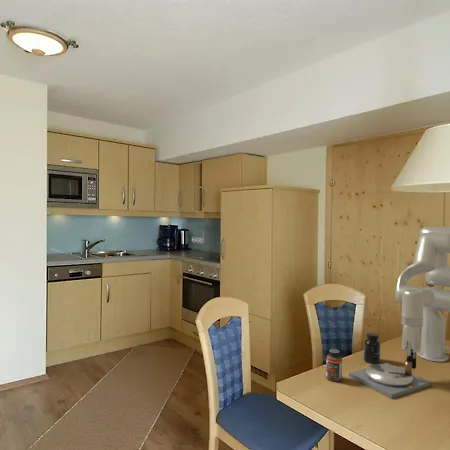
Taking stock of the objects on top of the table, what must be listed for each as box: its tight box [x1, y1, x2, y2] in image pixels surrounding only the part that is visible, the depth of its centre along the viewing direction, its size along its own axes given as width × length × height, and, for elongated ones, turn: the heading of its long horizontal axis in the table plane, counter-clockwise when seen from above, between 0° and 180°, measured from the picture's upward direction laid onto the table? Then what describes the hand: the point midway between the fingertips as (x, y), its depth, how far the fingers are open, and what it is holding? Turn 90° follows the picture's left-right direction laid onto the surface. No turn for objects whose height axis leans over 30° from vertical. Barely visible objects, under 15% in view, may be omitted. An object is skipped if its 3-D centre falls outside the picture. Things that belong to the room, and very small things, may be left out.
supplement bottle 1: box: [325, 348, 343, 383], centre depth 146 cm, size 6×6×11 cm
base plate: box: [348, 362, 432, 399], centre depth 144 cm, size 22×20×2 cm
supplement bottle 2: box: [363, 332, 382, 364], centre depth 164 cm, size 7×7×12 cm
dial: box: [365, 360, 413, 387], centre depth 144 cm, size 17×17×6 cm
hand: (411, 367), depth 145 cm, fingers closed
